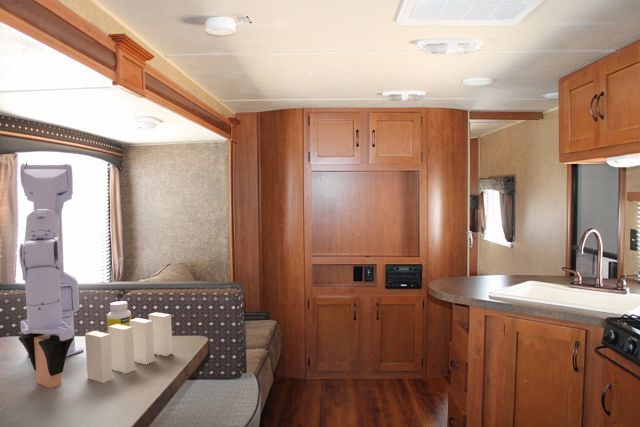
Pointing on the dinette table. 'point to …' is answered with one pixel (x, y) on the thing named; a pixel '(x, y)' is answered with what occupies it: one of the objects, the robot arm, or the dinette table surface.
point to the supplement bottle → (119, 314)
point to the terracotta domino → (44, 366)
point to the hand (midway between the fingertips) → (48, 371)
